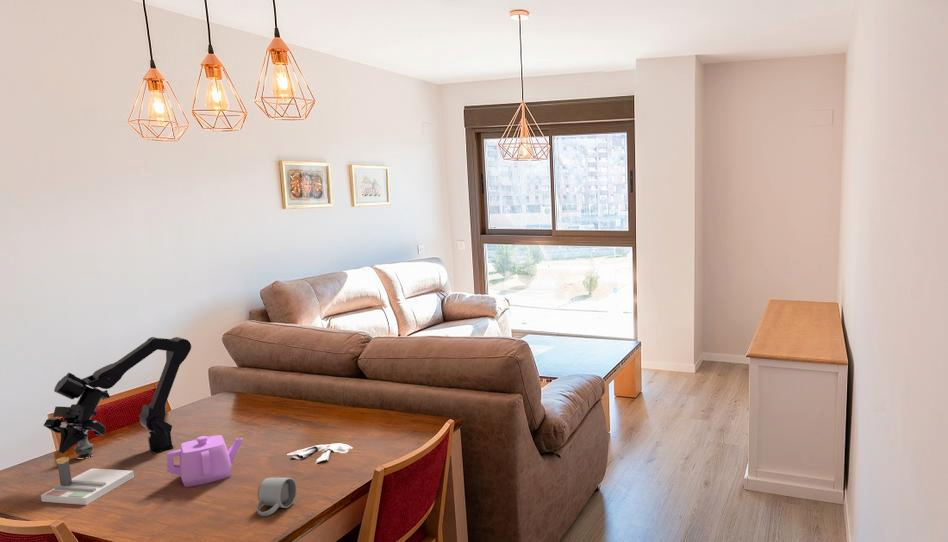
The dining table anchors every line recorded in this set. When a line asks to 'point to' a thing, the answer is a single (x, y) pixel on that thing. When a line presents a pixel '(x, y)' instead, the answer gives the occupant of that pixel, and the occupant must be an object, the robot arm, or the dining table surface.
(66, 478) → the knob
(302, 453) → the cloth
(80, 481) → the switch board
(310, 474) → the dining table surface
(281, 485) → the ceramic mug
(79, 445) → the grey statuette
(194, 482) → the teakettle
